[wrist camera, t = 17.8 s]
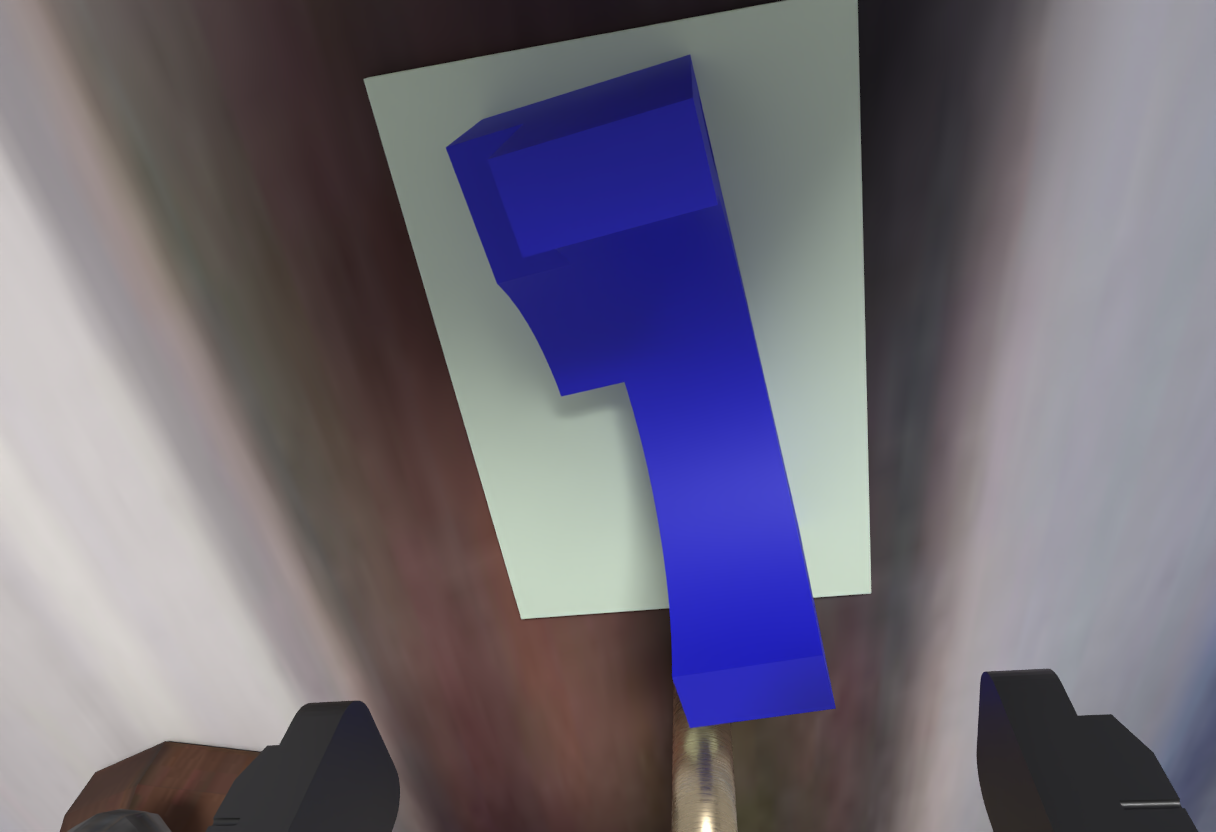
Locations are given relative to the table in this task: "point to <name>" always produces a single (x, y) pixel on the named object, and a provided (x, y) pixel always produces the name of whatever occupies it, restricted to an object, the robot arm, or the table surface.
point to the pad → (771, 274)
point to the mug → (158, 790)
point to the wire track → (702, 776)
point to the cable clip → (660, 362)
